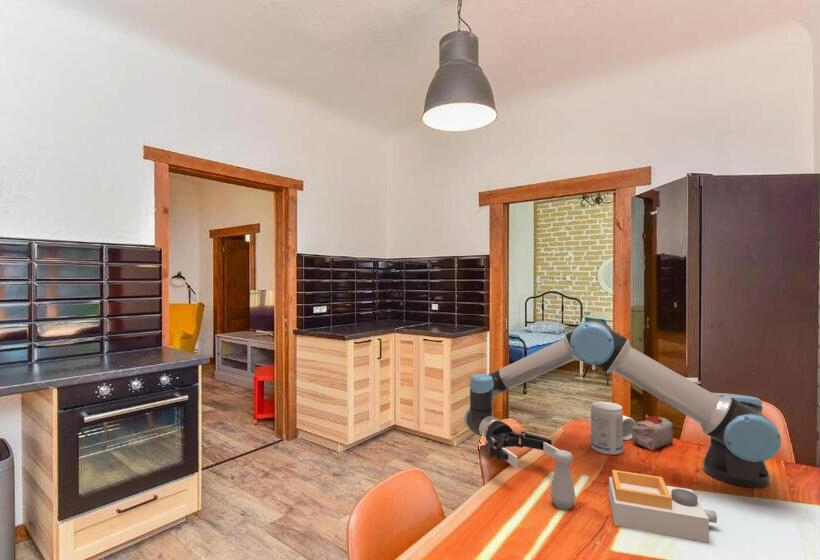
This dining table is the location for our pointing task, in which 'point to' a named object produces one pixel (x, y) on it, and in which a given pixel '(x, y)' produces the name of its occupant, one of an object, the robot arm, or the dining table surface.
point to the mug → (627, 427)
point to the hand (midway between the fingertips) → (538, 458)
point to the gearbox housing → (657, 507)
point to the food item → (653, 432)
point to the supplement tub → (607, 428)
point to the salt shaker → (563, 481)
